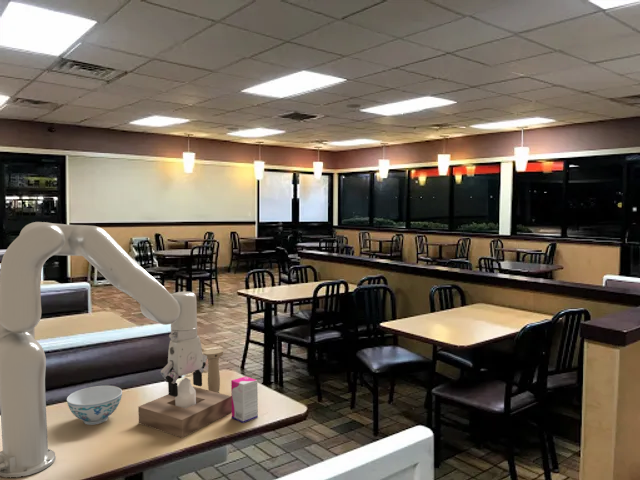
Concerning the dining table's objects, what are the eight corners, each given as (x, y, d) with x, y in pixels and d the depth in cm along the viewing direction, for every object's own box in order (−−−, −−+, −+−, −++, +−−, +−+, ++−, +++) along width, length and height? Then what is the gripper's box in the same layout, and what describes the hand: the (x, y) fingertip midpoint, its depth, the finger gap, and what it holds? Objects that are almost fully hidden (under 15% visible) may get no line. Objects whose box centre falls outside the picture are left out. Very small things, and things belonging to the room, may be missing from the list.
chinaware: (59, 420, 150) (58, 395, 149) (109, 405, 161) (108, 382, 160) (80, 436, 139) (79, 409, 139) (132, 419, 150) (131, 393, 150)
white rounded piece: (175, 382, 146) (173, 376, 152) (176, 423, 147) (174, 415, 153) (196, 380, 149) (194, 374, 154) (197, 420, 149) (195, 412, 155)
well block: (182, 437, 138) (181, 420, 137) (138, 423, 147) (138, 406, 147) (231, 412, 155) (231, 396, 154) (190, 400, 164) (189, 385, 164)
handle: (226, 396, 168) (225, 351, 167) (207, 400, 164) (206, 355, 163) (220, 391, 172) (219, 348, 171) (202, 395, 168) (201, 351, 167)
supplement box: (258, 417, 151) (258, 379, 150) (243, 423, 147) (242, 385, 146) (246, 411, 155) (245, 375, 154) (230, 418, 151) (230, 380, 150)
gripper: (170, 342, 140) (172, 402, 141) (214, 329, 155) (215, 383, 156) (152, 338, 144) (153, 397, 145) (196, 326, 159) (197, 379, 160)
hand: (185, 390), depth 150 cm, fingers open, 9 cm apart
